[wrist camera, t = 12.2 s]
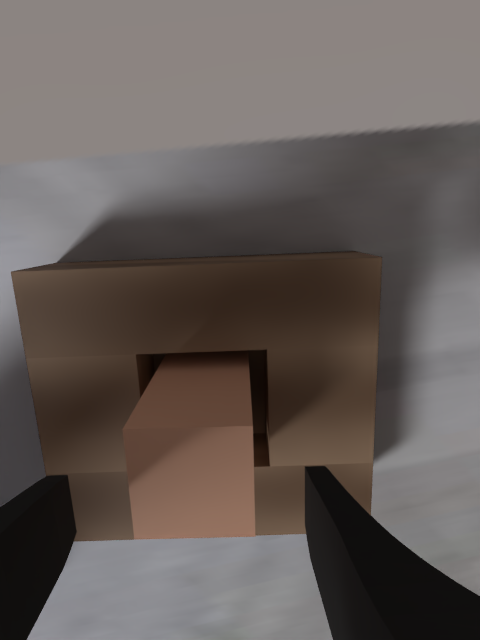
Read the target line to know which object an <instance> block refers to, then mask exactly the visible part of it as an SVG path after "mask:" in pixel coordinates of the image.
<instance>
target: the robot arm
mask: <svg viewBox="0 0 480 640" xmlns="http://www.w3.org/2000/svg"><path fill="white" fill-rule="evenodd" d="M305 529H306V535H307V541H308V547H309V553H310V558H311V562H312V566H313V570H314V573H315V577H316V580H317V584H318V588H319V591H320V595H321V598H322V602H323V605H324V609H325V612H326V616H327V619H328V623H329V627H330V630H331V634H332V637H333V640H480V596H478V595H477V594H475V593H473V592H472V591H470V590H468V589H467V588H465V587H463V586H462V585H460V584H459V583H457V582H455V581H454V580H452V579H451V578H449V577H448V576H446V575H445V574H443V573H442V572H440V571H439V570H437V569H436V568H434V567H433V566H431V565H430V564H429V563H427V562H426V561H424V560H423V559H422V558H420V557H419V556H418V555H416V554H415V553H414V552H412V551H411V550H410V549H409V548H407V547H406V546H405V545H403V544H402V543H401V542H400V541H398V540H397V539H396V538H395V537H394V536H392V535H391V534H390V533H389V532H388V531H387V530H386V529H385V528H384V527H382V526H381V525H380V524H379V523H378V522H377V521H376V520H375V519H374V518H373V517H372V516H371V515H370V514H369V513H368V512H367V511H366V510H365V509H364V508H363V507H362V506H361V505H360V504H359V503H358V502H357V501H356V500H355V499H354V498H353V497H352V496H351V494H350V493H349V492H348V491H347V490H346V489H345V488H344V487H343V486H342V484H341V483H340V482H339V481H338V480H337V479H336V477H335V476H334V475H333V474H332V473H331V472H330V470H329V469H328V468H327V467H326V466H305ZM76 533H77V530H76V524H75V518H74V511H73V505H72V499H71V493H70V486H69V480H68V475H50V476H46V477H45V478H43V479H41V480H40V481H38V482H37V483H35V484H34V485H32V486H31V487H29V488H28V489H26V490H25V491H23V492H22V493H20V494H19V495H18V496H16V497H15V498H13V499H12V500H10V501H9V502H8V503H6V504H5V505H3V506H2V507H0V640H27V638H28V636H29V634H30V632H31V630H32V628H33V626H34V624H35V622H36V621H37V619H38V617H39V615H40V613H41V611H42V609H43V607H44V605H45V603H46V601H47V599H48V597H49V596H50V594H51V592H52V590H53V588H54V586H55V584H56V582H57V580H58V578H59V576H60V574H61V572H62V570H63V568H64V566H65V563H66V560H67V558H68V555H69V553H70V550H71V547H72V544H73V542H74V539H75V536H76Z"/></svg>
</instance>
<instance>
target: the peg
mask: <svg viewBox="0 0 480 640" xmlns="http://www.w3.org/2000/svg"><path fill="white" fill-rule="evenodd" d="M122 430H123V439H124V448H125V458H126V467H127V476H128V485H129V495H130V504H131V513H132V523H133V532H134V539H172V538H213V537H254V536H255V495H254V451H253V420H252V404H251V389H250V373H249V358H248V350H242V351H215V352H188V353H166V355H165V357H164V358H163V360H162V362H161V364H160V365H159V367H158V369H157V371H156V372H155V374H154V376H153V377H152V379H151V381H150V383H149V384H148V386H147V388H146V390H145V391H144V393H143V395H142V396H141V398H140V400H139V402H138V403H137V405H136V407H135V409H134V410H133V412H132V414H131V415H130V417H129V419H128V421H127V422H126V424H125V426H124V428H123V429H122Z"/></svg>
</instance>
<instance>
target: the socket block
mask: <svg viewBox="0 0 480 640" xmlns="http://www.w3.org/2000/svg"><path fill="white" fill-rule="evenodd" d="M381 270H382V257H379V256H374V255H370V254H365V253H360V252H356V251H345V252H319V253H294V254H269V255H243V256H218V257H193V258H167V259H142V260H117V261H91V262H66V263H53V264H48V265H43V266H38V267H33V268H28V269H23V270H18V271H12V272H11V276H12V281H13V287H14V293H15V299H16V305H17V310H18V316H19V322H20V328H21V333H22V339H23V345H24V351H25V356H26V362H27V368H28V374H29V379H30V385H31V391H32V397H33V402H34V408H35V414H36V420H37V425H38V431H39V437H40V443H41V449H42V454H43V460H44V466H45V472H46V476H50V475H68V480H69V486H70V493H71V499H72V505H73V511H74V518H75V524H76V530H77V533H76V536H75V539H74V541H102V540H132V539H134V532H133V523H132V513H131V504H130V495H129V485H128V476H127V467H126V458H125V448H124V439H123V430H122V429H123V428H124V426H125V424H126V422H127V421H128V419H129V417H130V415H131V414H132V412H133V410H134V409H135V407H136V405H137V403H138V402H139V400H140V398H141V396H142V395H143V393H144V391H145V390H146V388H147V386H148V384H149V383H150V381H151V379H152V377H153V376H154V374H155V372H156V371H157V369H158V367H159V365H160V364H161V362H162V360H163V358H164V357H165V355H166V353H188V352H215V351H242V350H248V358H249V373H250V389H251V404H252V420H253V451H254V495H255V535H283V534H306V529H305V466H326V467H327V468H328V469H329V470H330V472H331V473H332V474H333V475H334V476H335V477H336V479H337V480H338V481H339V482H340V483H341V484H342V486H343V487H344V488H345V489H346V490H347V491H348V492H349V493H350V494H351V496H352V497H353V498H354V499H355V500H356V501H357V502H358V503H359V504H360V505H361V506H362V507H363V508H364V509H365V510H366V511H367V512H368V513H369V514H370V515H371V497H372V474H373V452H374V429H375V406H376V383H377V361H378V338H379V315H380V293H381Z"/></svg>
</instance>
